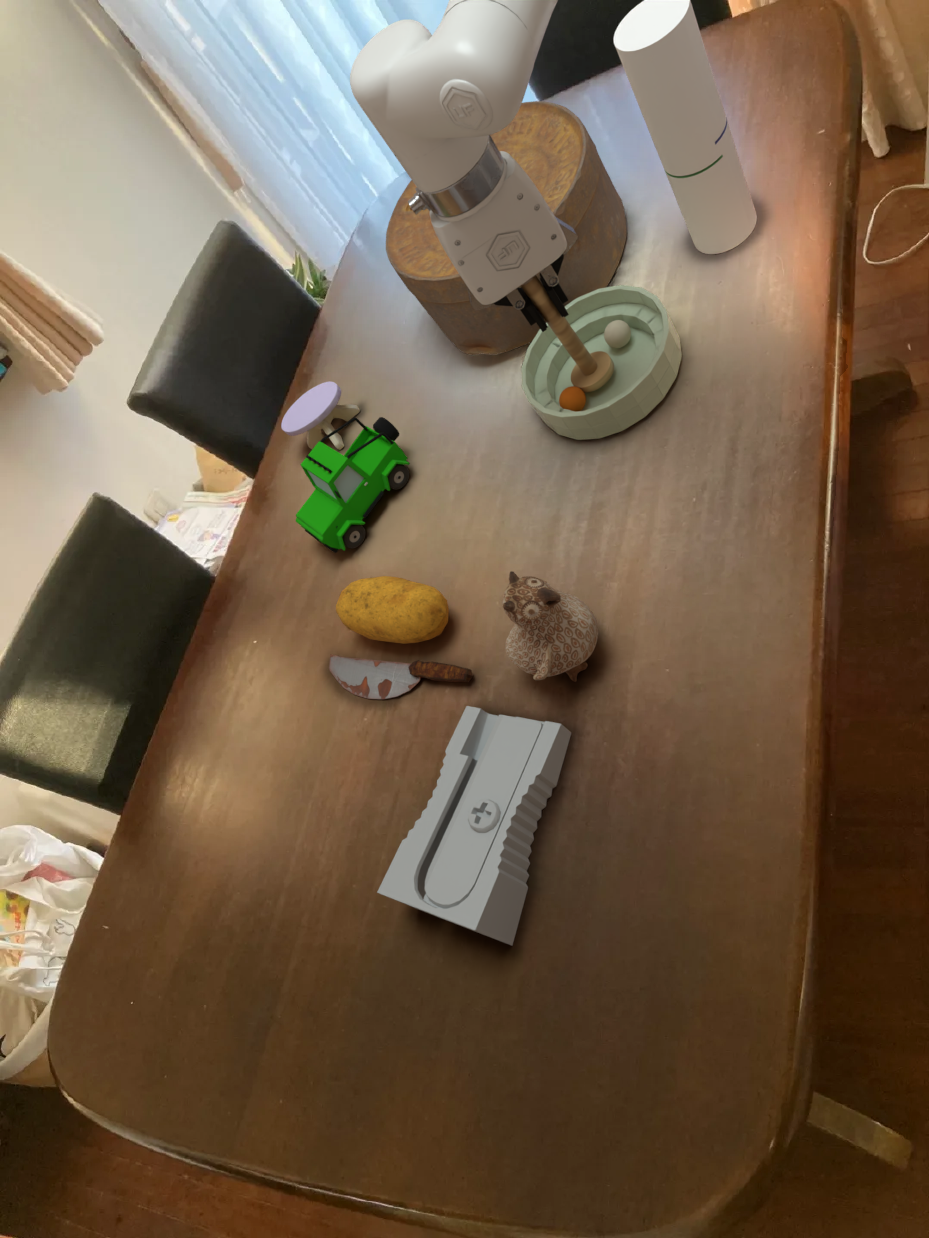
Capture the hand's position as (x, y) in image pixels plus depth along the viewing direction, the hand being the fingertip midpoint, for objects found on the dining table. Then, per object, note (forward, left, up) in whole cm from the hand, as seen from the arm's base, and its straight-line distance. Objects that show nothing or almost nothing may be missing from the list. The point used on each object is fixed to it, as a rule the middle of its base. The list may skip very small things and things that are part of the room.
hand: (551, 315), depth 87 cm
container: (0, -23, -11) cm, 25 cm away
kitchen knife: (+34, +23, -11) cm, 43 cm away
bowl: (-2, +1, -11) cm, 11 cm away
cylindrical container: (-21, -9, -11) cm, 25 cm away
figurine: (+14, +31, -11) cm, 36 cm away
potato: (+30, +17, -11) cm, 37 cm away
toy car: (+31, -4, -11) cm, 33 cm away
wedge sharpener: (+27, +43, -11) cm, 52 cm away
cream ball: (-5, -2, -9) cm, 10 cm away
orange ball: (+3, +3, -9) cm, 10 cm away
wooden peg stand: (0, +1, -9) cm, 10 cm away
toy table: (+34, -20, -11) cm, 41 cm away
